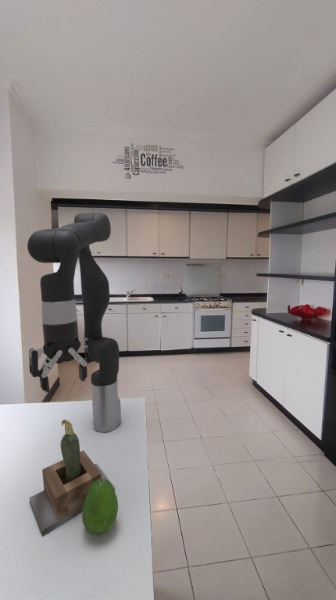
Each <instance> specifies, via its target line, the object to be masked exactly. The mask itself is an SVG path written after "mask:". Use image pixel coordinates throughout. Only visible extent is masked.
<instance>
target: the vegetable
mask: <svg viewBox="0 0 336 600" xmlns="http://www.w3.org/2000/svg"><path fill="white" fill-rule="evenodd" d="M60 423H61V426H64V434H63V436H62V438H61V440H60V451H61V456H62V460H64V463H65V468H66V484H67V483H68V482H70V481H72V480H74V479H76V478H78V477H80V476H81V469H80V452H81V446H80V440H79V437H78V435H77V434H76V433H75V431H74V428H73V424H72V423H71V422H70V421H69V420H68V419H63V420H62V421H61V422H60Z"/></svg>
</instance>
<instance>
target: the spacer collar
mask: <svg viewBox="0 0 336 600" xmlns="http://www.w3.org/2000/svg"><path fill="white" fill-rule="evenodd" d="M80 469H81V476H80V477H78V478H76V479H74V480H72V481H70V482H68V483H67V484H66V468H65V463H64V460H63V459H62V460H60V461H58V462H55V463H53V464H51V465H49V466H47V467H45V468H42V471H41V472H42V481H43V484H42V485H43V490H42V491H40V492H37V493H36V494H34V495H33V496H30V497H29V499H28V501H29V506H30V508H31V510H32V512H33V515H34V518H35V520H36V524H37V526H38V530H39V532H40V535H41V537H44V536H45V535H47V534H49V533H51V532H53V531H54V530H56V529H57V528H59V527H60V526H62V525H64V524H66V523H68V522H69V521H70V520H72V519H74V518H75V517H78V516H79V515H80V514H82V509H83V505H84V502H85V499H86V496H87V494H88V492H89V489H90V487H91V485H92V484H93V483H94V482H95V481H96V480H98V479H106V480H107V481H109V482H110V483H111V484H112V486H113V488H114V491H115V492H116V487H115V486H114V484H113V483H112V481H111V480H110V479H109V478H108V477H107V475H106V474H105V472H104V471H103V470H102V469H101V467H100V466H99V465H98V463H94V462H93V460H92V459H91V458H90V457H89V456H88V454H87V453H86V451H85V450H80Z"/></svg>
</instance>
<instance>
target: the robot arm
mask: <svg viewBox="0 0 336 600" xmlns="http://www.w3.org/2000/svg"><path fill="white" fill-rule="evenodd" d="M111 231H112V227H111V221H110V218H109V217H108V215H106V214H105V213H102V212H82V213H77V214H76V215H75V216H74V219H73V223H68V224H65V225H62V226H60V227H57V228H47V229H39V230H36V231H34V232H33V233H32V234H31V235H30V236H29V238H28V240H27V243H26V244H27V245H26V247H27V252H28V254H29V256H30V257H31V258H32V259H33V260H34V261H36V262H38V263H41V264H58V263H59V267H58V269H57V270H56V271H55V272H53V273H46V274H44V275H42V276H41V278H40V279H39V282H40V295H41V296H40V297H41V320H42V321H41V322H42V323H41V324H42V333H43V334H42V335H43V346H42V347H40V348H33V347H32V348H30V349H29V350H28V357H29V359H28V362H29V363H28V365H29V373H30V375H31V377H33V378H39V383H40V389H41V390H42V391H43V392H44V393H49V392H50V385H49V384H50V383H49V381H50V380H49V376H48V374H49V373H50V372H51V370H53V368H54V366H55V365H56V364H58V365H59V364H63V363H64V362H71V361H72V360H73V359H74V360H75V361H76V362H77V363H78V364H79V365H78V377H79V380H80V381H81V382H85V381H86V379H87V378H88V364H90V363H97V364H98V366H99V368H98V369H96V370H95V371H94V372H92V373H91V375H90V387H91V404H92V405H91V406H92V423H93V429H94V430H95V431H96V432H100V433H106V432H107V433H108V432H111V431H113V430H115V429H117V428H118V426H119V425H121V424H122V407H121V406H122V405H121V404H122V403H121V399H120V397H119V391H118V390H119V389H118V388H119V387H118V376H119V375H118V374H119V370H120V346H119V344H118V342H117V340H116V339H114V338H112V337H107V336H103V330H102V329H103V327H102V321H103V318H104V316H105V314H106V312H107V309H108V307H109V304H110V299H111V296H110V295H111V294H110V281H109V280H108V277H107V275H106V273H105V272H104V271H103V269H102V268H101V267H100V266H99V264H98V263H97V261H96V260H95V258H94V256H93V255H92V250H91V248H90V245H92V244H95V243H98V242H99V243H101V242H105V241H108V240H109V239H110V236H111ZM78 261H79V263H78ZM77 263H78V264H79V274H80V289H81V298H82V307H83V309H82V310H83V311H82V312H83V322H84V323H83V326H84V327H83V328H84V330H83V331H84V333H83V339H79V328H78V326H79V325H78V311H77V310H78V309H77V305H76V300H75V299H76V298H75V297H76V295H75V284H74V283H75V274H76V269H77ZM81 347H82V348H83V349H84V358H83V357H82V356H81V355H80V354H79V353H78V352H79V349H80V348H81ZM43 354H44V355H45V356H46V357H45V359H44V360H43V362H42V365H41V367H40V368H39V359H40V358H41V357H42V355H43Z"/></svg>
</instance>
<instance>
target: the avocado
mask: <svg viewBox="0 0 336 600" xmlns="http://www.w3.org/2000/svg"><path fill="white" fill-rule="evenodd" d="M110 482H111V481H110ZM110 482H109V481H107V480H106V479H98V480H96V481H95V482H94V483H93V484H92V485H91V487H90V489H89V492H88V494H87V496H86V499H85V502H84V505H83V509H82V513H81V514H82V516H81V517H82V524H83V526H84V528H85V530H86V531H87V532H88V533H89V534H90V535H95V536H103V535H105V534H106V533H108V532H110V530H111V529H112V528H113V526H114V524H115V523H116V519H117V517H118V511H119V502H118V496H117V494H116V490H115V491H114V488H113V486H114V485H113V486H112V484H113V483H112V482H111V483H112V484H111V483H110Z"/></svg>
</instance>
